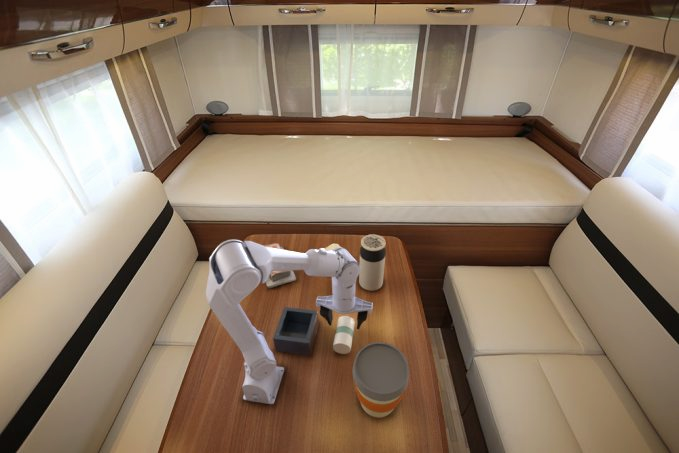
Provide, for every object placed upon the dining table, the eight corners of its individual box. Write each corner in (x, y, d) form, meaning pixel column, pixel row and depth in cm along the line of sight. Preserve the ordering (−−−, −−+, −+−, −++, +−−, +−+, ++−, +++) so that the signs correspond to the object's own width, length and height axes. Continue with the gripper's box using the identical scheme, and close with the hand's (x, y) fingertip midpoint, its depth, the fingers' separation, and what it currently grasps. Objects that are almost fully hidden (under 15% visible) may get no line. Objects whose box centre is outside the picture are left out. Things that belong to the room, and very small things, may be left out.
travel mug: (370, 295, 108) (372, 254, 97) (354, 281, 113) (354, 241, 102) (387, 283, 112) (391, 242, 101) (371, 270, 117) (373, 230, 105)
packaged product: (255, 246, 121) (281, 239, 124) (257, 255, 124) (283, 248, 126) (265, 279, 107) (295, 271, 110) (268, 289, 110) (296, 281, 113)
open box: (310, 355, 91) (309, 343, 88) (275, 350, 93) (272, 338, 89) (318, 323, 100) (317, 310, 96) (286, 319, 101) (284, 306, 97)
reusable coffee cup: (350, 375, 87) (349, 342, 77) (397, 372, 87) (403, 338, 78) (355, 428, 77) (355, 397, 68) (408, 423, 77) (416, 392, 68)
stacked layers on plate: (351, 266, 118) (351, 254, 115) (329, 274, 115) (328, 263, 112) (339, 249, 125) (338, 238, 122) (317, 257, 122) (316, 246, 119)
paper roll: (351, 354, 91) (350, 344, 88) (333, 352, 92) (331, 342, 89) (355, 327, 98) (354, 316, 95) (338, 325, 99) (337, 315, 96)
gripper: (374, 282, 84) (372, 315, 93) (318, 276, 86) (321, 309, 95) (372, 304, 79) (370, 337, 87) (312, 297, 81) (316, 330, 89)
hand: (344, 324), depth 91 cm, fingers open, 7 cm apart
